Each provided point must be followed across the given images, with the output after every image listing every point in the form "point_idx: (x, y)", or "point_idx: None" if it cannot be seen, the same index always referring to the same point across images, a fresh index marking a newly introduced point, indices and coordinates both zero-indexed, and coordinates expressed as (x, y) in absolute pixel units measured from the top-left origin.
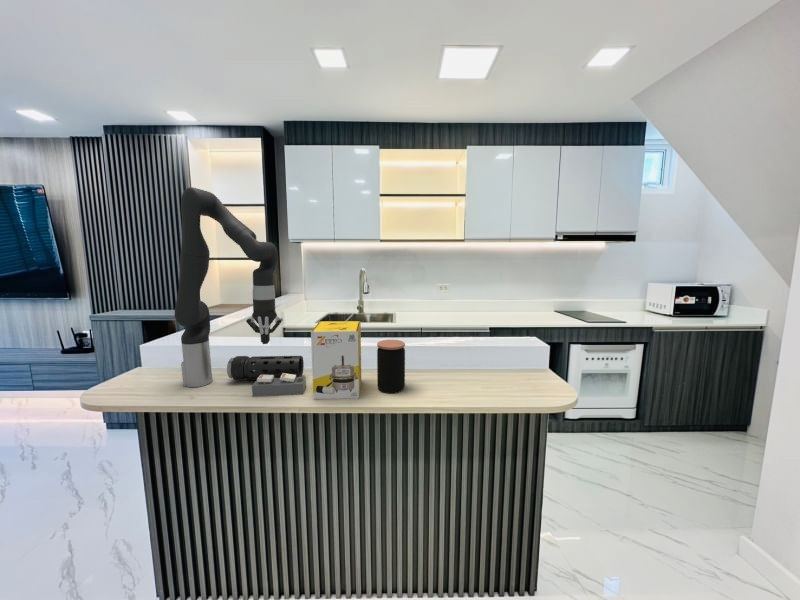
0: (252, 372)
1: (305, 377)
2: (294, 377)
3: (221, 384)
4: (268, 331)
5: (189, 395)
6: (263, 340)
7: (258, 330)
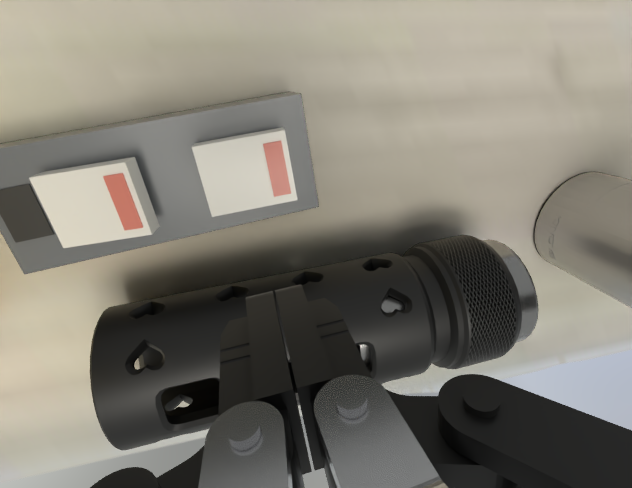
0: (376, 264)
1: (20, 265)
2: (44, 202)
3: (488, 217)
4: (205, 485)
5: (576, 91)
6: (294, 314)
7: (450, 439)
